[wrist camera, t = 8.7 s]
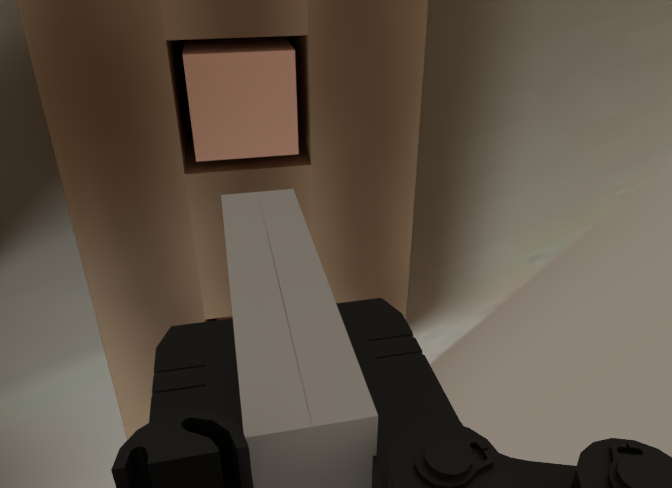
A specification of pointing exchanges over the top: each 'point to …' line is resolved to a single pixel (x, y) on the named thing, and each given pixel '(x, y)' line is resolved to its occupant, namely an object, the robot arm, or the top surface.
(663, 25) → the top surface
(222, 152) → the peg
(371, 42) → the socket block
